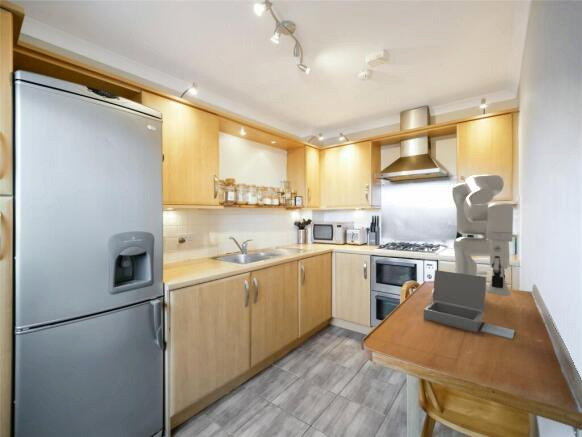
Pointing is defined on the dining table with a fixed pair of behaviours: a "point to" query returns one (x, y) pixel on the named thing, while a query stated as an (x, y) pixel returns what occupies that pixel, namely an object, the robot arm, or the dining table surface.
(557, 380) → the dining table surface
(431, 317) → the case
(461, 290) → the lid and stay
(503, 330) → the mat
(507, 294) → the flask
